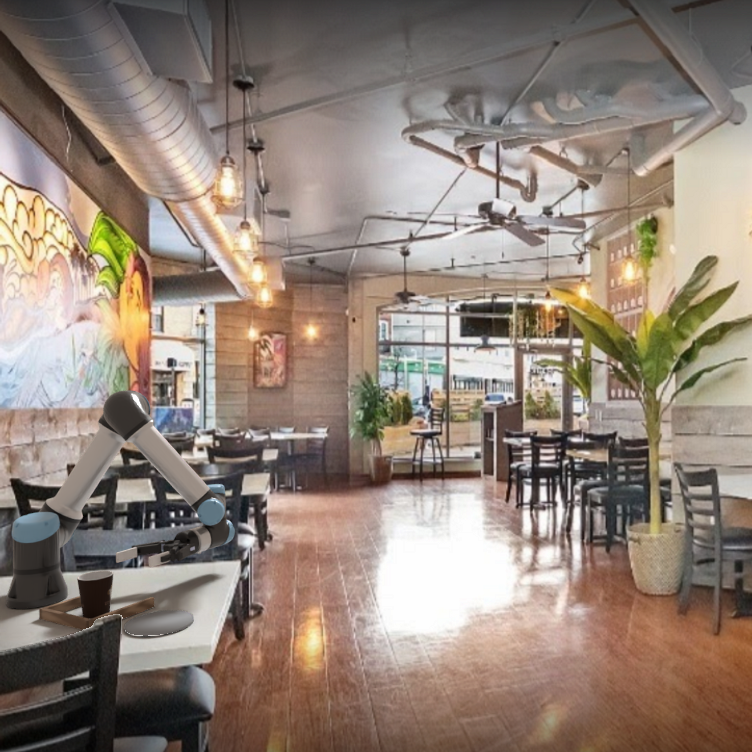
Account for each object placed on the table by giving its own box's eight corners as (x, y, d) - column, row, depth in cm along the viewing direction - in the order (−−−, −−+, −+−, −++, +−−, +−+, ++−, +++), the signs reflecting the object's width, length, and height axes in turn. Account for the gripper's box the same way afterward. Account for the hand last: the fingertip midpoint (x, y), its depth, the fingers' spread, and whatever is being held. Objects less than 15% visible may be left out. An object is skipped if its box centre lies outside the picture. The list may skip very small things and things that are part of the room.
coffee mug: (100, 620, 160) (99, 580, 160) (70, 619, 162) (69, 579, 162) (127, 605, 171) (126, 567, 171) (99, 604, 173) (98, 567, 173)
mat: (129, 617, 162) (129, 614, 162) (194, 610, 165) (194, 606, 165) (119, 640, 146) (119, 637, 146) (192, 632, 150) (192, 628, 150)
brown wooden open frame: (105, 596, 179) (105, 587, 179) (154, 607, 169) (154, 597, 169) (39, 618, 163) (39, 608, 163) (89, 631, 152) (89, 621, 152)
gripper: (222, 558, 187) (164, 578, 169) (164, 550, 200) (104, 569, 181) (221, 532, 187) (163, 550, 169) (162, 526, 200) (103, 542, 182)
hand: (132, 560), depth 175 cm, fingers open, 13 cm apart
